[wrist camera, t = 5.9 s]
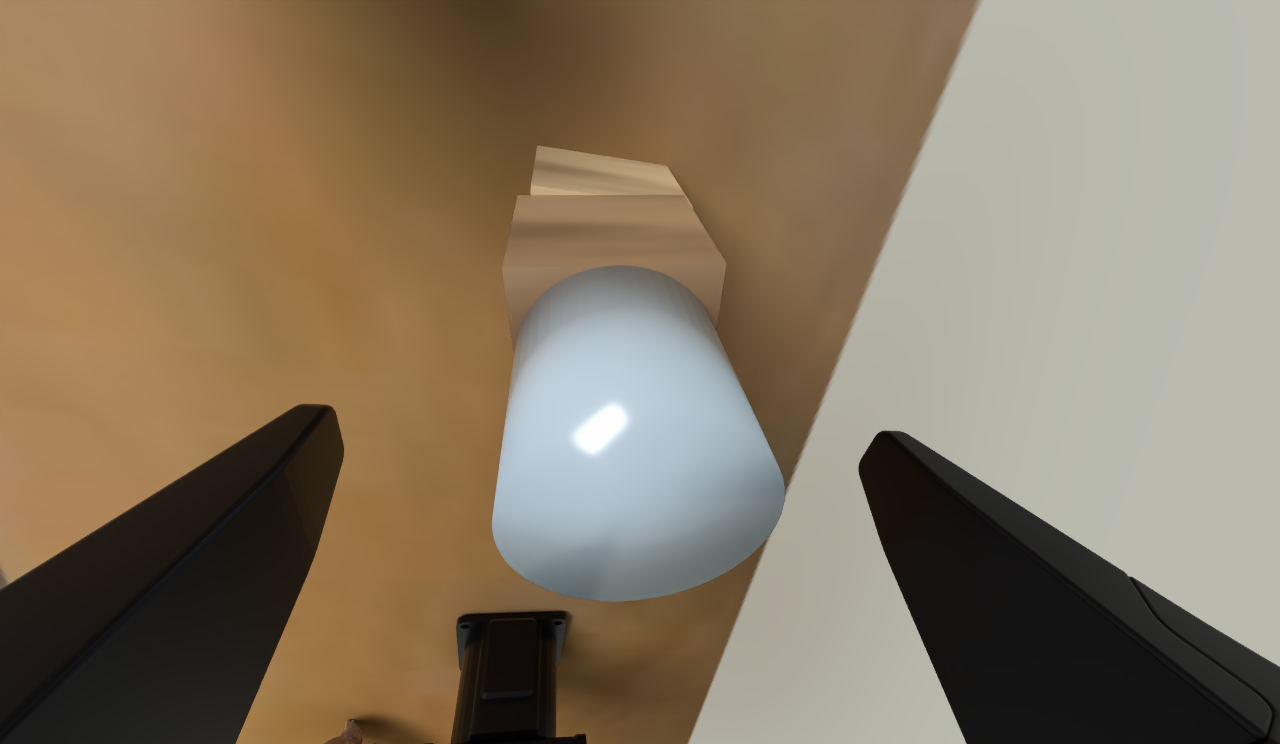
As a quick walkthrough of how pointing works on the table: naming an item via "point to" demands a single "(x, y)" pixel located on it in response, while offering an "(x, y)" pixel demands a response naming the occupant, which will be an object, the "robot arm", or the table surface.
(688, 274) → the tower top
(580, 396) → the pale blue rounded blob
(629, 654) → the table surface
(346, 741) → the brown wrinkled rounded piece
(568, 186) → the tower base
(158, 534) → the robot arm
